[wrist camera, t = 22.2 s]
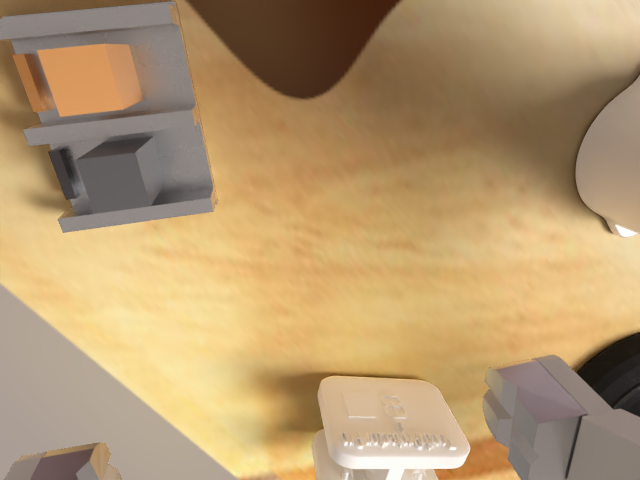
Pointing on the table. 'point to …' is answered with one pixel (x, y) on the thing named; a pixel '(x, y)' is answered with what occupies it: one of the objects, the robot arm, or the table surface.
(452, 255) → the table surface
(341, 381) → the cable organizer
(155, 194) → the dark gray block
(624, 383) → the banker's lamp
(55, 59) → the orange block
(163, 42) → the gray divided tray
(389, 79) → the table surface
